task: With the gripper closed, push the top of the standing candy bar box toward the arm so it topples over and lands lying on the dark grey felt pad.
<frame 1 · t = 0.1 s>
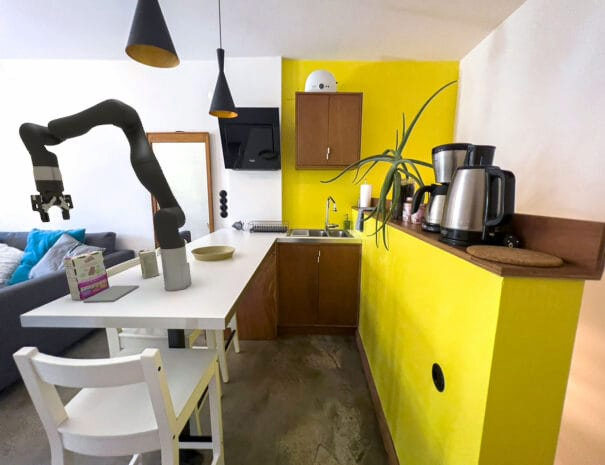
hand: (56, 221, 95), 29 cm above the counter, tool pointing down, fingers open, 8 cm apart
felt pad: (113, 294, 94), on the counter
candy bar box: (91, 294, 94), on the counter
skincare box: (150, 276, 114), on the counter
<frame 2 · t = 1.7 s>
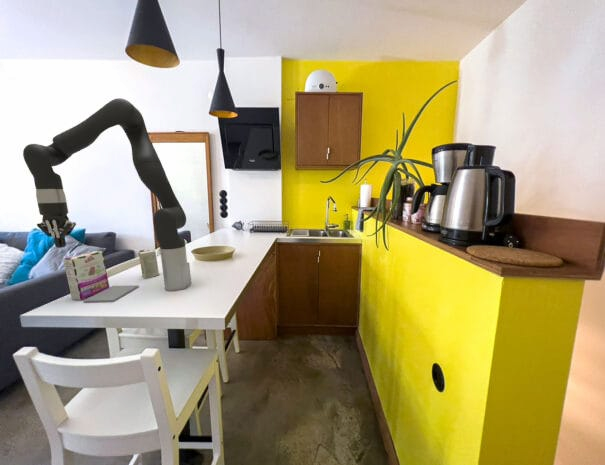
hand: (60, 247, 91), 19 cm above the counter, tool pointing down, fingers closed
nothing on the counter moved.
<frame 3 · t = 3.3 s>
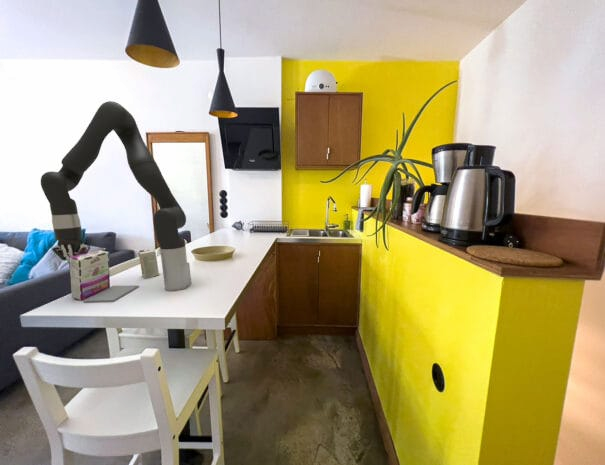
hand: (75, 270, 93), 10 cm above the counter, tool pointing down, fingers closed
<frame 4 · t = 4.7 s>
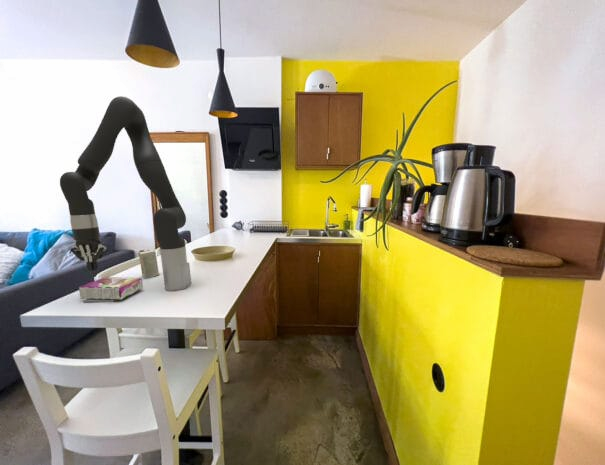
hand: (93, 270, 93), 10 cm above the counter, tool pointing down, fingers closed
candy bar box: (92, 287, 93), point 3 cm above the counter, touching felt pad
everything else where it was.
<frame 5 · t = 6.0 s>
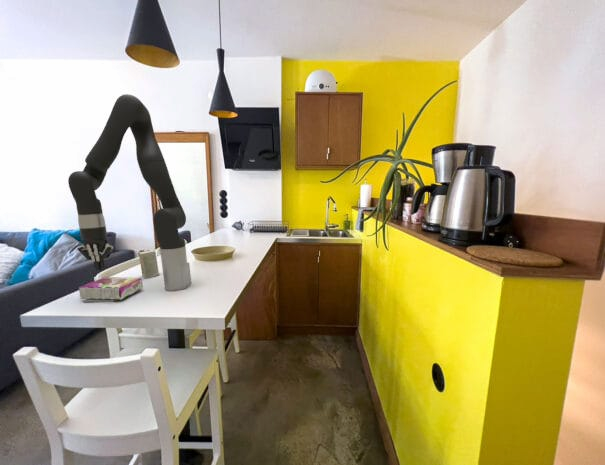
hand: (100, 269, 93), 10 cm above the counter, tool pointing down, fingers closed
nothing on the counter moved.
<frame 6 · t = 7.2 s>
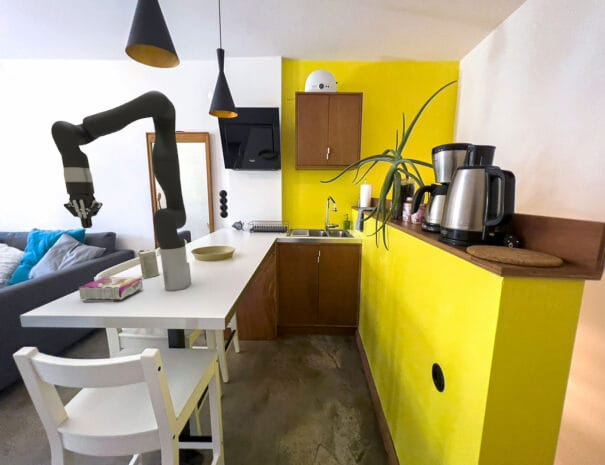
hand: (87, 227, 90), 27 cm above the counter, tool pointing down, fingers closed
nothing on the counter moved.
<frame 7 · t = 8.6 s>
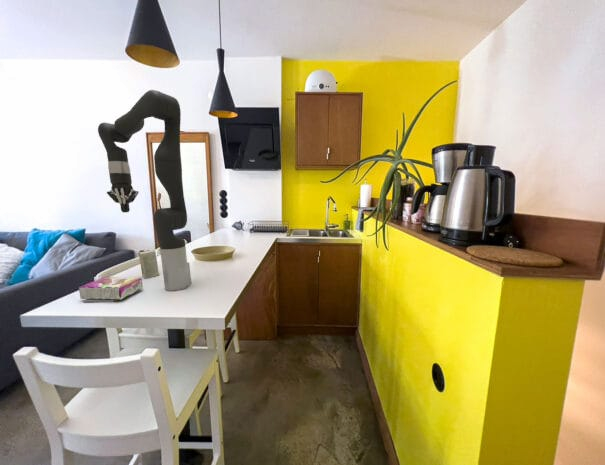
hand: (125, 212, 107), 31 cm above the counter, tool pointing down, fingers closed
nothing on the counter moved.
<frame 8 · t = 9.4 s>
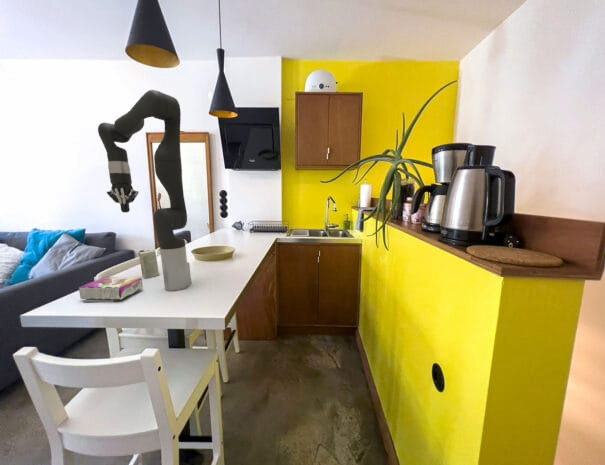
hand: (125, 212, 107), 31 cm above the counter, tool pointing down, fingers closed
nothing on the counter moved.
at the end: candy bar box tilted 91°; candy bar box inside the target area (8.3 cm from its centre), point 3.3 cm above the counter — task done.
